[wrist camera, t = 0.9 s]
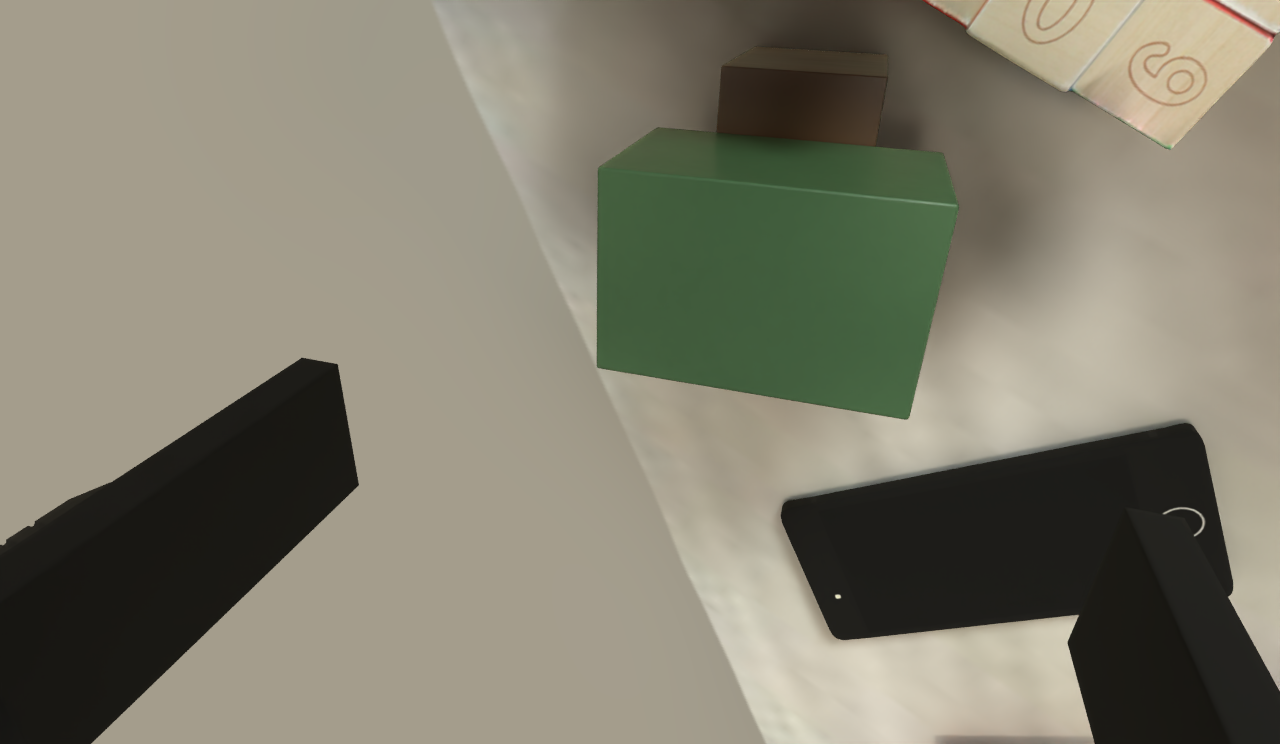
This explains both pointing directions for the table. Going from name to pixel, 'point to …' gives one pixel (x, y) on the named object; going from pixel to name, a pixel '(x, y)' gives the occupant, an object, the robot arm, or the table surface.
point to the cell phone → (995, 534)
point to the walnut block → (803, 95)
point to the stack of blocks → (1128, 51)
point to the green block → (772, 265)
